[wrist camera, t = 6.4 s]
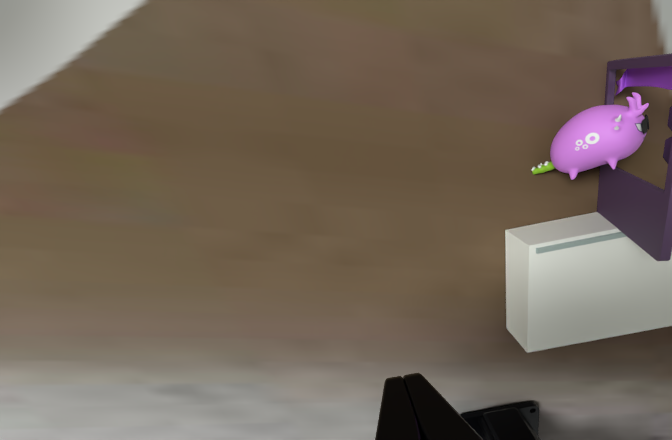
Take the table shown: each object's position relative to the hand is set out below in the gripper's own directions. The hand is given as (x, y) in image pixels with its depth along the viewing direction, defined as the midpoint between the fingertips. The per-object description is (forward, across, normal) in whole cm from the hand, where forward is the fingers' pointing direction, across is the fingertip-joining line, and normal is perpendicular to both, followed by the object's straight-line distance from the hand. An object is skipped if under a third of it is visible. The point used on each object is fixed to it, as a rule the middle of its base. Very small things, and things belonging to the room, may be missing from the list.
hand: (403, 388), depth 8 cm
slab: (+13, -15, +7) cm, 21 cm away
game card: (+13, -14, -1) cm, 19 cm away
